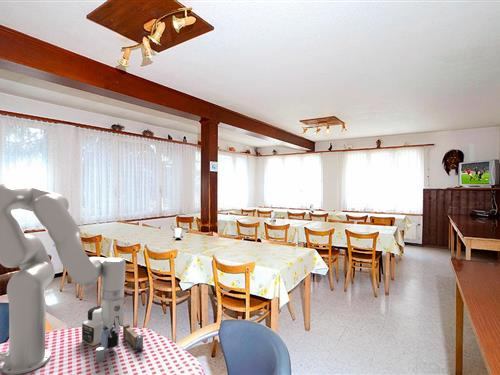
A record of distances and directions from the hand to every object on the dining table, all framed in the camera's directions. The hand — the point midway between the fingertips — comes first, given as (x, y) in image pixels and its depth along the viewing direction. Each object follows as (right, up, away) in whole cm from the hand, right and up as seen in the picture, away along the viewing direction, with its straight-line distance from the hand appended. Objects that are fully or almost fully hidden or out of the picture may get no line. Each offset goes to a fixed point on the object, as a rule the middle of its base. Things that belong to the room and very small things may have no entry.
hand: (109, 343), depth 102 cm
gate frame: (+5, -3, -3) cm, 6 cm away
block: (0, -1, 0) cm, 1 cm away
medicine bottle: (-9, -3, +8) cm, 12 cm away
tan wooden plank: (+5, -2, +6) cm, 8 cm away
